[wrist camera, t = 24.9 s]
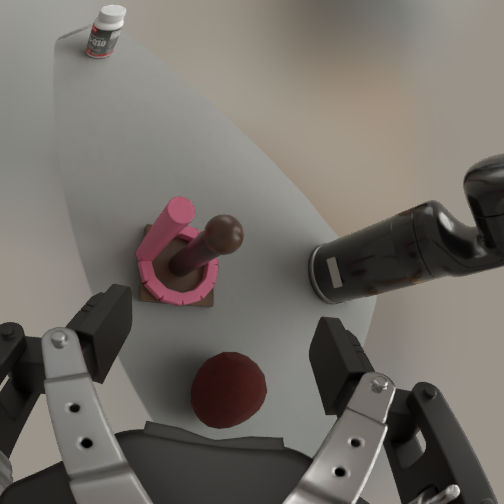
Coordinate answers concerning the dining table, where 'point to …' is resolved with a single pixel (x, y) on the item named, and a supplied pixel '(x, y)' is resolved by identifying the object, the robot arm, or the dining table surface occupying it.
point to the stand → (193, 258)
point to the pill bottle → (105, 31)
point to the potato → (228, 390)
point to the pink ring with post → (158, 237)
